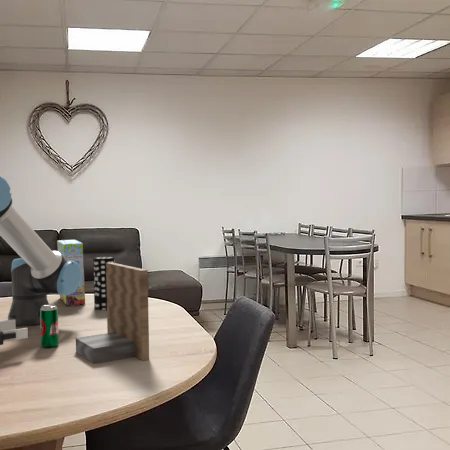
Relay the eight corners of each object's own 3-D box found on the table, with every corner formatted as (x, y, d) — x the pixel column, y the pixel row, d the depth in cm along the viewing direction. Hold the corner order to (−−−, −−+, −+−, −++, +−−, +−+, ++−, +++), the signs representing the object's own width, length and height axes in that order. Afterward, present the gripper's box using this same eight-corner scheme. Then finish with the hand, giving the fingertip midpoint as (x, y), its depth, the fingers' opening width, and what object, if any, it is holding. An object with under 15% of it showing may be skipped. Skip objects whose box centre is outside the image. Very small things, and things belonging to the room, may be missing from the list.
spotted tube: (96, 306, 230) (94, 257, 229) (116, 305, 230) (115, 256, 229) (93, 310, 221) (91, 259, 220) (114, 309, 222) (113, 258, 221)
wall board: (70, 348, 164) (68, 265, 163) (113, 341, 172) (112, 262, 171) (101, 368, 144) (99, 274, 143) (149, 359, 152) (147, 270, 151)
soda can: (53, 348, 164) (52, 307, 163) (37, 348, 165) (36, 307, 164) (62, 344, 169) (61, 304, 168) (46, 343, 170) (45, 303, 169)
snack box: (57, 298, 249) (56, 240, 248) (78, 296, 253) (76, 239, 252) (64, 306, 230) (62, 243, 228) (86, 304, 233) (84, 242, 232)
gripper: (-67, 343, 161) (10, 333, 173) (-55, 364, 140) (33, 350, 152) (-68, 317, 161) (10, 308, 172) (-56, 334, 140) (32, 322, 152)
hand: (21, 328), depth 162 cm, fingers open, 13 cm apart
